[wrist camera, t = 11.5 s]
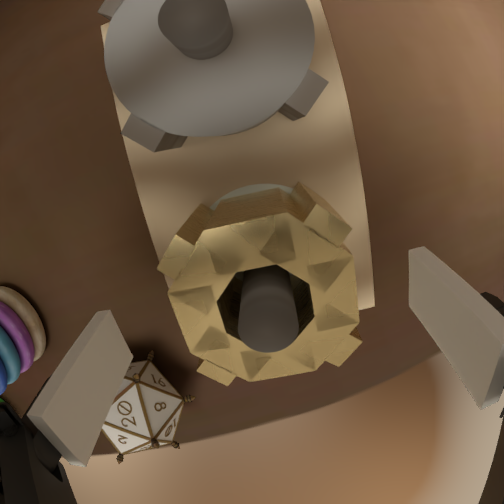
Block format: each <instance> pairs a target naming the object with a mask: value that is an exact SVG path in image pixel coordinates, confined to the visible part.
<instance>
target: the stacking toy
mask: <svg viewBox="0 0 504 504" xmlns="http://www.w3.org/2000/svg"><path fill="white" fill-rule="evenodd" d="M45 346H46V335H45V331H44V328H43V325H42V322H41V320H40V318H39V316H38V314H37V313H36V311H35V309H34V308H33V307H32V305H31V304H30V303H29V302H28V301H27V300H26V299H25V298H24V297H23V296H22V295H21V294H19V293H18V292H16V291H15V290H13V289H11V288H8V287H3V286H0V395H1V394H2V393H3V392H4V391H5V390H6V387H7V384H11V383H13V382H14V381H16V380H17V378H18V377H19V374H20V373H22V372H25V371H26V370H28V369H29V368H30V367H31V365H32V363H33V361H36V360H37V359H39V358H40V357H41V356H42V354H43V352H44V350H45Z"/></svg>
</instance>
